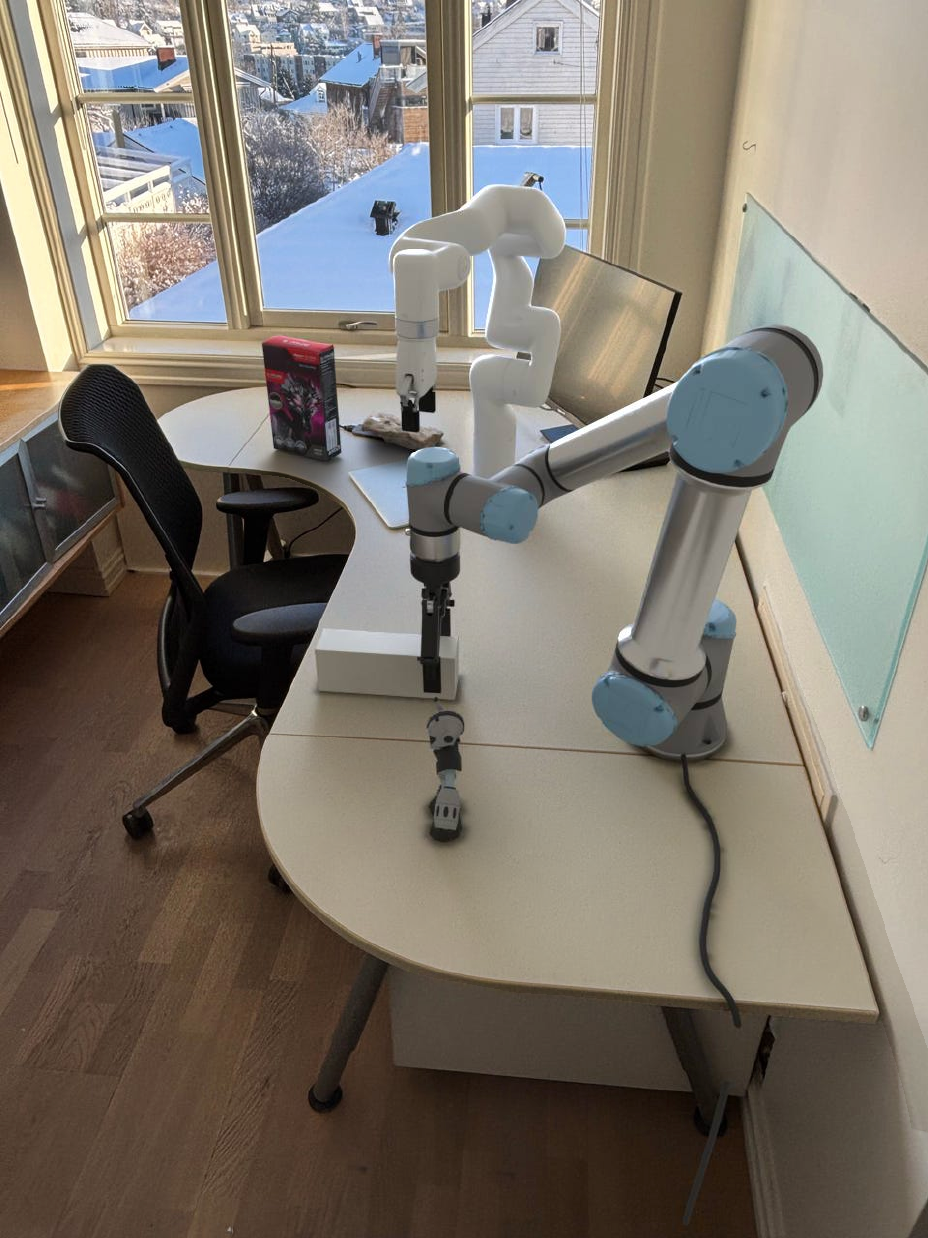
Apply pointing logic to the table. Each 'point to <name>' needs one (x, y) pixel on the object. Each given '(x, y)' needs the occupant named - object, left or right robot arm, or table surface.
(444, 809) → the robot
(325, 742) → the table surface
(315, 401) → the graphics card box
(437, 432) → the stone
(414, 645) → the bar
